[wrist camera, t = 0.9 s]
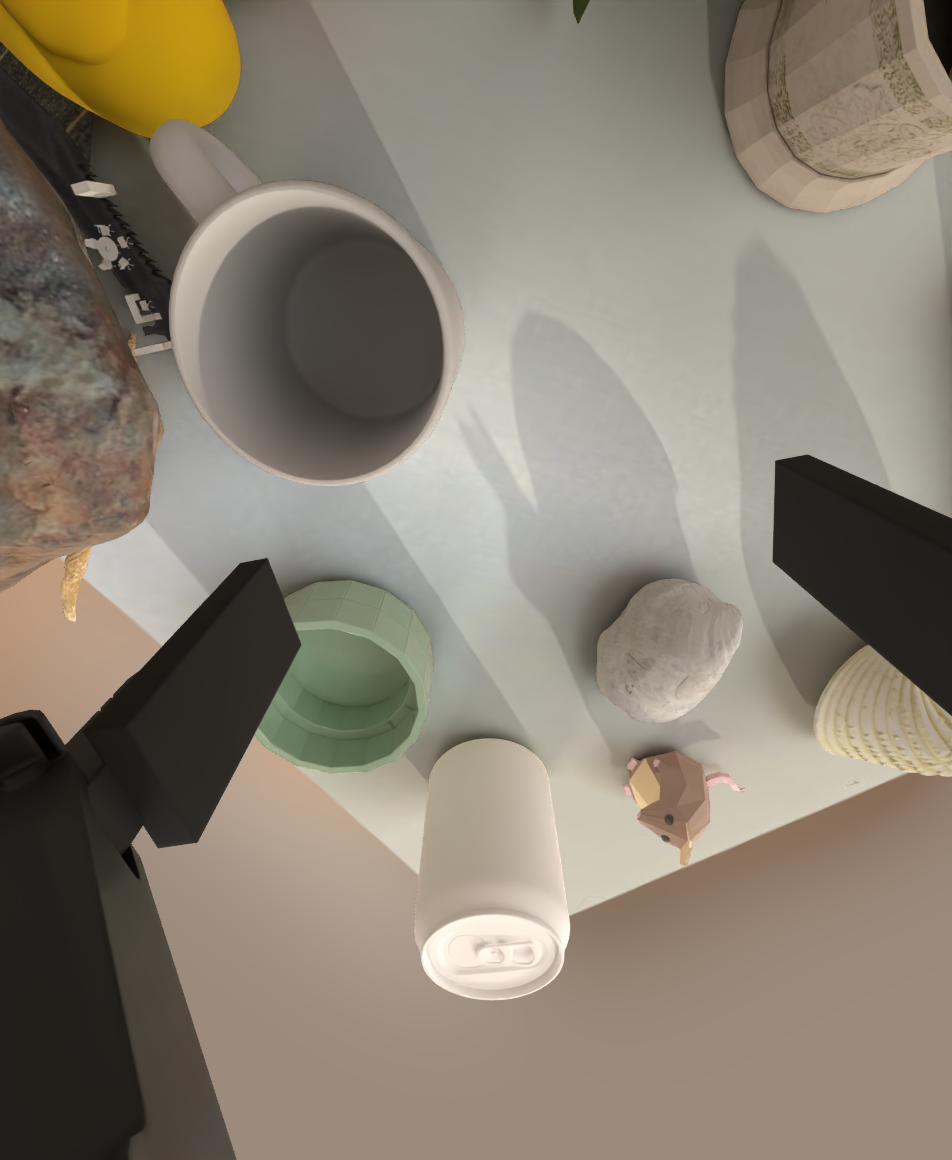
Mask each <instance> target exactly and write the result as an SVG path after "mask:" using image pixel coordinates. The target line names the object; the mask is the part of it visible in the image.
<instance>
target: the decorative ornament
mask: <svg viewBox="0 0 952 1160" xmlns="http://www.w3.org/2000/svg"><path fill="white" fill-rule="evenodd" d="M589 1H590V0H573V9H574V15H575V18H576V20H577V23H579V21H580V19H581V17H582V15H583V13H584V11H585V9H586V7H587V5H588V3H589Z"/></svg>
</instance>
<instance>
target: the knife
mask: <svg viewBox="0 0 952 1160" xmlns="http://www.w3.org/2000/svg"><path fill="white" fill-rule="evenodd" d="M0 118H1V119H2V120H3V122H4V123H5V124H6V126H7V127H8V129H9V130H10V131H11V133H12V134H13V135H14V137H15V138H16V140H17V141H18V142H19V144H20V145H21V147H22V148H23V149H24V151H25V152H26V153H27V155H28V156H29V158H30V159H31V160H32V162H33V163H34V164H35V165H36V167H37V168H38V169H39V170H40V172H41V173H42V174H43V175H44V177H45V178H46V179H47V180H48V182H49V183H50V184H51V186H52V187H53V188H54V189H55V191H56V192H57V193H58V194H59V196H60V197H61V198H62V200H63V202H64V204H65V205H66V207H67V209H68V210H69V212H70V214H71V216H72V217H73V218H74V220H75V221H76V222H77V224H78V225H79V227H80V228H81V229H82V231H83V232H84V233H85V235H86V236H87V238H88V239H90V238H93V239H96V240H97V241H98V240H99V239H100V238H101V237H108V238H110V239H111V240H112V241H113V242H114V243H115V244H116V246H117V249H118V252H119V253H118V257H117V259H116V260H114V261H111V265H113V274H114V275H115V276H116V278H117V279H118V280H119V282H120V283H121V285H122V286H123V287H124V289H125V290H126V291H127V293H128V294H129V295H131V294H138V295H139V298H140V300H136V301H135V303H136V305H137V307H138V308H139V309H142V308H141V305H140V303H139V302H140V301H144V300H146V301H145V302H146V303H147V305H149V306H147V307H148V309H149V311H151V313H152V314H154V313H160V315H161V318H162V319H158V320H156V324H155V325H154V326H153V327H150V326H145V327H143V330H144V334H145V336H146V335H150V334H158V335H165V336H166V338H167V339H168V340H169V341H171V337H170V330H169V301H170V290H171V286H172V282H171V280H169V279H168V278H166V277H164V276H162V275H160V274H158V273H156V272H155V271H161V270H160V269H158V268H156V267H155V266H153V265H152V264H150V263H149V262H155V261H153V260H152V259H150V258H149V257H147V256H145V255H144V254H142V253H149V252H147V251H146V250H144V249H142V248H141V247H139V246H138V245H136V244H143V243H141V242H139V241H138V240H136V239H135V238H133V237H132V236H130V235H137V234H135V233H134V232H132V231H130V230H129V229H127V228H126V227H124V226H123V225H127V226H131V225H129V224H128V223H126V222H125V221H123V220H122V219H120V218H118V217H117V216H124V215H122V214H120V213H119V212H117V211H116V210H114V209H113V208H111V207H110V206H115V207H118V206H116V205H115V204H113V203H112V202H110V201H109V200H107V199H106V198H96V197H90V196H79V195H75V193H74V191H73V189H72V187H71V185H72V184H76V183H79V182H83V181H92V182H96V181H95V180H93V179H92V178H90V176H93V177H97V176H96V175H94V174H93V173H91V172H90V171H88V170H87V169H85V168H84V167H83V166H87V167H91V166H90V164H89V163H88V162H87V160H86V159H85V157H84V156H83V154H82V153H81V151H80V150H79V148H78V147H77V145H76V144H75V143H74V141H73V140H72V138H71V137H70V135H69V134H68V133H67V132H66V130H65V129H64V128H63V127H62V126H61V125H60V124H59V123H58V122H57V121H56V120H55V119H54V118H53V117H52V116H51V115H50V114H49V112H48V111H47V110H46V109H45V108H44V107H43V106H42V105H40V104H39V103H38V102H37V101H36V100H35V99H34V98H33V97H32V96H31V95H30V94H29V93H28V92H27V91H26V90H25V89H24V88H23V87H22V86H21V85H20V84H18V83H17V82H16V81H15V80H14V79H13V78H12V77H11V76H10V75H9V74H8V73H7V72H6V71H5V70H4V69H3V68H2V67H1V66H0ZM109 197H111V196H109ZM109 224H110V226H109ZM94 225H103V226H104V225H105V226H108V227H109V230H110V231H109V233H110V235H111V236H109V235H106V236H103V235H102V232H101V229H100V227H97V226H94ZM98 228H99V230H98ZM112 231H114V232H112ZM99 232H100V233H99ZM121 236H123V237H124V238H123V239H124V240H125V241H127V245H128V247H127V246H126V248H121V246H120V244H119V242H118V239H117V238H119V237H121ZM128 237H129V238H128ZM127 238H128V239H127ZM129 243H130V244H129ZM118 245H119V246H118ZM143 245H144V244H143ZM107 247H108V246H107ZM105 249H106V248H105ZM96 250H97V251H98V249H96ZM106 251H107V250H106ZM98 253H99V251H98ZM99 254H100V253H99ZM149 254H150V253H149ZM100 256H101V255H100ZM101 257H102V256H101ZM122 257H123V258H124V259H126V260H127V261H128V262H129V264H131V265H129V264H128V265H126V267H125V269H120V268H121V267H122V266H121V265H120V264H119V261H120V259H121V258H122ZM102 258H103V257H102ZM128 259H130V260H128ZM103 260H104V258H103ZM155 263H156V262H155ZM118 264H119V265H118ZM132 265H134V266H132ZM115 266H116V267H115ZM128 267H129V268H128ZM129 269H130V270H129ZM150 301H151V302H150ZM148 303H149V304H148ZM150 306H151V307H150ZM153 307H154V308H153Z"/></svg>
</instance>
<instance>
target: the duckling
mask: <svg viewBox="0 0 952 1160" xmlns="http://www.w3.org/2000/svg"><path fill="white" fill-rule="evenodd" d="M0 42H1V43H2V44H3V45H4V46H5V47H6V48H7V49H9V50H10V51H11V53H12V54H13V55H14V56H15V57H16V58H17V59H18V60H19V61H21V62H22V63H23V64H24V65H25V66H26V67H27V68H28V69H29V70H30V71H31V72H32V73H34V74H35V75H36V76H37V77H38V78H40V79H41V80H42V81H43V82H44V83H46V84H47V85H49V86H50V87H51V88H53V89H54V90H55V91H57V92H58V93H60V94H61V95H63V96H65V97H66V98H68V99H70V100H72V101H73V102H75V103H76V104H78V105H80V106H82V107H84V108H85V109H87V110H89V111H91V112H93V113H95V114H97V115H99V116H101V117H102V118H104V119H106V120H108V121H110V122H112V123H114V124H116V125H118V126H120V127H122V128H124V129H126V130H128V131H130V132H133V133H135V134H138V135H141V136H144V137H148V138H152V136H153V135H154V133H155V131H156V130H157V128H158V127H159V126H161V125H162V124H163V123H164V122H165V121H169V120H172V119H181V120H185V121H189V122H191V123H194V124H196V125H197V126H199V127H203V126H205V125H207V124H209V123H211V122H213V121H215V120H216V119H218V118H219V117H220V116H221V115H222V114H223V113H224V112H225V111H226V110H227V109H228V107H229V106H230V104H231V102H232V100H233V98H234V96H235V93H236V91H237V88H238V84H239V80H240V72H241V60H240V52H239V46H238V42H237V38H236V34H235V30H234V27H233V24H232V22H231V19H230V16H229V14H228V12H227V9H226V7H225V5H224V3H223V1H222V0H0Z"/></svg>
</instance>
